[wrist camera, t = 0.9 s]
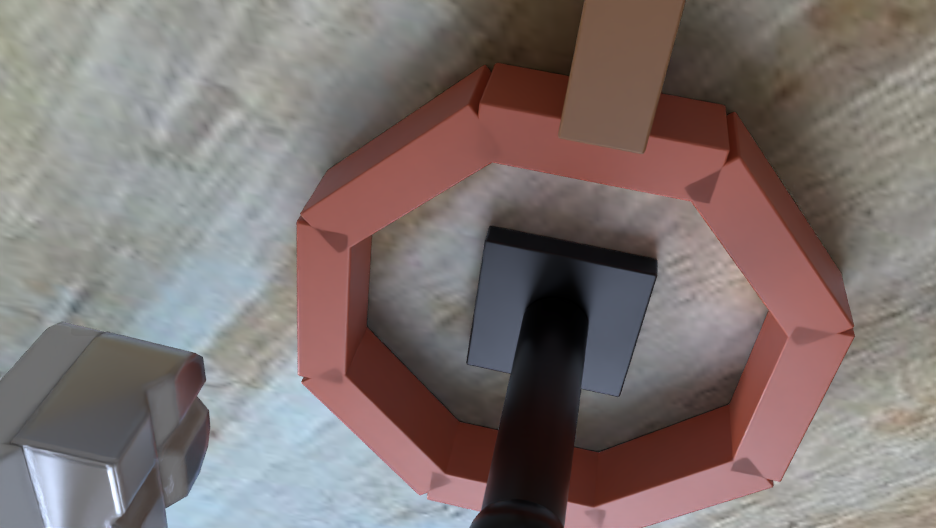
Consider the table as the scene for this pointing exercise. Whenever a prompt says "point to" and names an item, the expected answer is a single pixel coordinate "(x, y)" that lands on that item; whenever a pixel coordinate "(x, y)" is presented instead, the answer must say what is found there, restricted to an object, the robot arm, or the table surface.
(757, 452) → the hoop
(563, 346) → the peg stand
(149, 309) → the table surface
